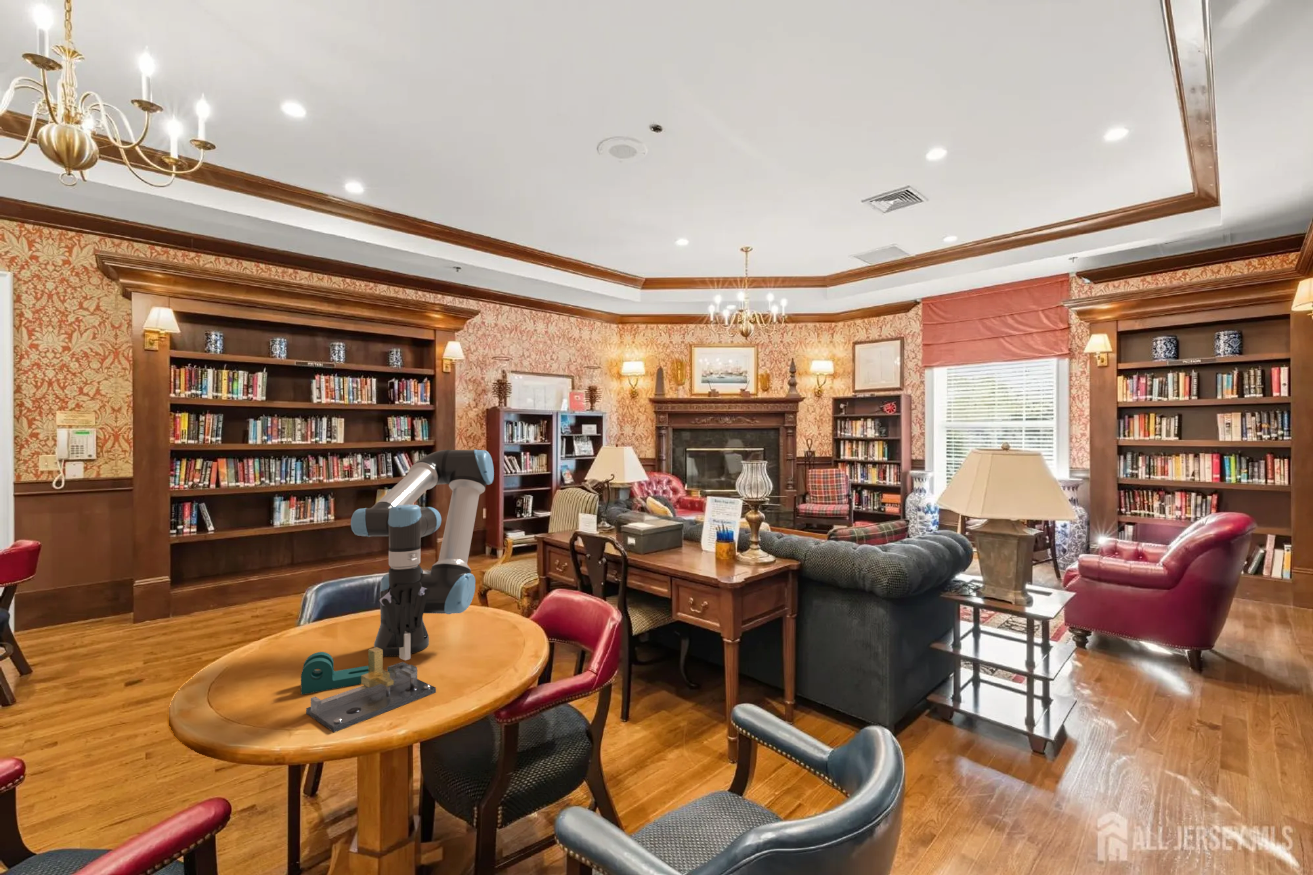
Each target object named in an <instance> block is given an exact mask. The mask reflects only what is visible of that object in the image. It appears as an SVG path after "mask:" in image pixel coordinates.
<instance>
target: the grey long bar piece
mask: <svg viewBox="0 0 1313 875" xmlns="http://www.w3.org/2000/svg"><path fill="white" fill-rule="evenodd" d="M386 669H387V670H386V671H387V672H389V673H390V679H392V680H394V684H393V685H390V688H391V687H394V686H397V685H399V684H402V683H405V682H408V681H410V689H414V680H416V679H418V667H417V666H415V665H413V664H408V663H406V662H404V661H401V662H398V663H394V664H393V665H392V664H391V665H389V666H387V668H386ZM385 689H386V686H385V685H383V684H379V685H376V686H373V687H371V688H369V687H367V686H365V685H363V684H362V685H361V686H357V687H355V688H352V689H349V690H346V691H343V692H340V693H338V694H334V695H331V696H329V697H326V698H323V699H320V698H318V697H317V696H313V697H310V707H311V712H312V713H314V714H315V715H319V714H321V712H324V711H327V710H330V709H333V708H335V707H338V706H341V705H344V704H346V703H349V702H352V701H355V700H358V699H360V698H363V697H366V696H369V695H372V694H374V693H377V692H380V691H383V690H385Z"/></svg>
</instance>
